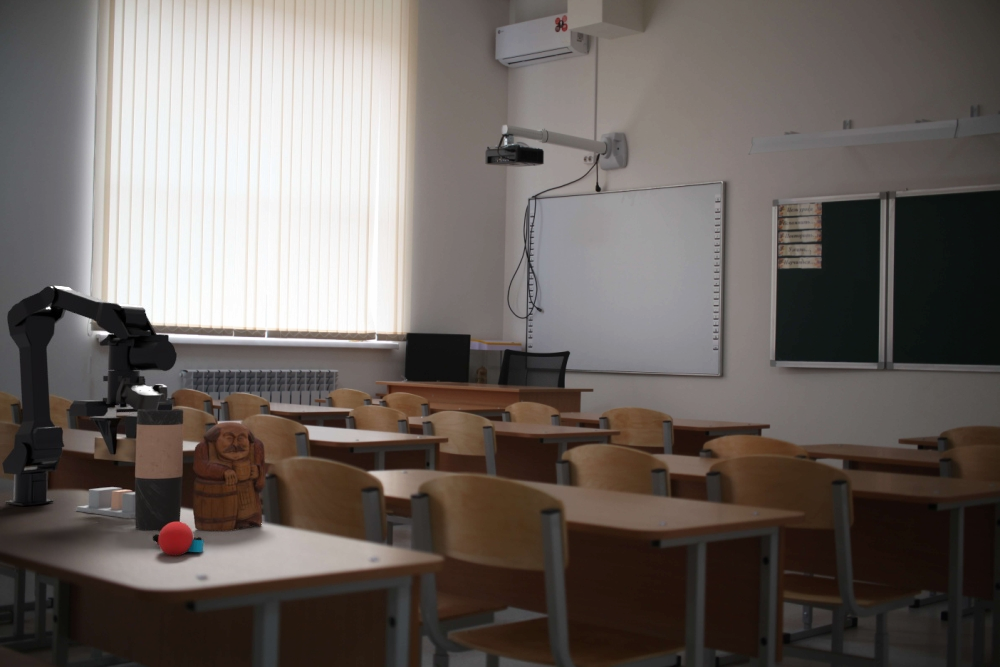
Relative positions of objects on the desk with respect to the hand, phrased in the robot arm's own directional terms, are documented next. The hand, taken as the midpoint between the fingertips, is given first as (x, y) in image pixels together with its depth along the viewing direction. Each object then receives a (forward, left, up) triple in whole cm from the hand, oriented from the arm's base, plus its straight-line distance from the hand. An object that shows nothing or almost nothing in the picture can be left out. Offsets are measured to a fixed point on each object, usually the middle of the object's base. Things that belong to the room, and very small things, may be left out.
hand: (121, 453), depth 185 cm
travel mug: (+20, -7, -11) cm, 24 cm away
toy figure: (+40, -19, -11) cm, 45 cm away
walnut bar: (0, 0, -1) cm, 1 cm away
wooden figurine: (+30, 0, -11) cm, 32 cm away
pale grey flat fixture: (0, +1, -11) cm, 11 cm away
